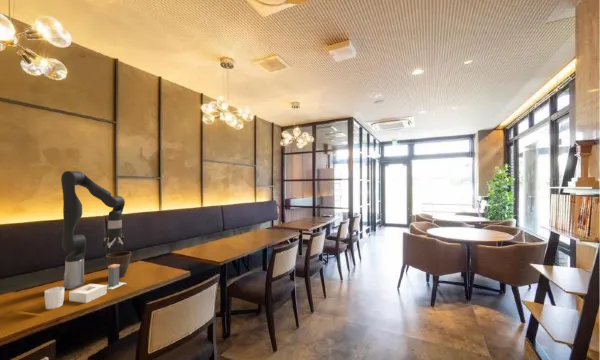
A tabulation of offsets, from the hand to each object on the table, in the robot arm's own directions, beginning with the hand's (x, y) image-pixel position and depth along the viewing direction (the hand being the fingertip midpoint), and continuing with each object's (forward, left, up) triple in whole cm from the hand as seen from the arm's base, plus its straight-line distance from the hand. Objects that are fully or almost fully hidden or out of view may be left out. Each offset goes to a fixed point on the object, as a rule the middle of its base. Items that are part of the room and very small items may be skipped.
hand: (114, 251), depth 166 cm
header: (+1, -17, -23) cm, 29 cm away
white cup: (-6, -30, -23) cm, 38 cm away
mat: (0, 0, -23) cm, 23 cm away
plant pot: (-13, +16, -23) cm, 31 cm away
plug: (0, 0, -22) cm, 22 cm away
